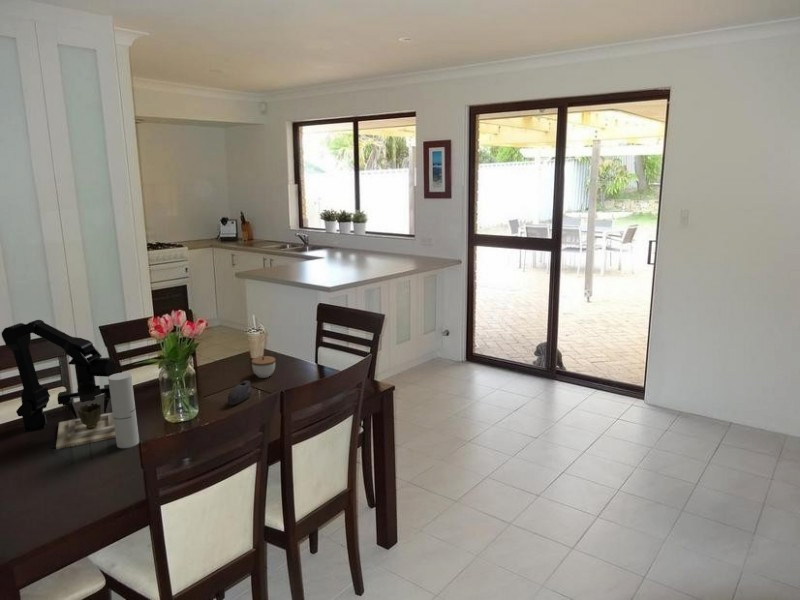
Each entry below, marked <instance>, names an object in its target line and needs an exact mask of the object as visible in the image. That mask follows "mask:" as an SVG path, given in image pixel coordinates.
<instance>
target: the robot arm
mask: <svg viewBox="0 0 800 600" xmlns="http://www.w3.org/2000/svg"><path fill="white" fill-rule="evenodd" d="M31 334H34V335H36V336H38V337H40V338H42V339H44V340H45V341H48V342H50V343H52V344H54V345H55V346H57V347H59V348H61V349H63V351H64V353H65V355H67V356H69V357H70V358H71V360H70V361H68V365H74V370H75V377H76V378H75V379H76V385H77V392H71V390H66V391H59V392H58V394H57V405H62V406H63V407H68V408H69V410H70V411H71V413H72V414H73V416H74V419H78V412H77V410H76V406H75V402H74V399H78V398H79V402H80V403H85V402H89V401H90V402H93V401H95V400H96V397H98V396H101V395H102V394H103V414H107V409H108V403H109V401H110V400H111V396H110V389H109V383H108V384H104V385H103V388H101V385H99V384H98V385H97V384H96V378H95V377H105V378H106V377H107V378H108V377H109V376H111V375H113V374H116V373H115V372H116V364H115V362H114V361H113V360H112V359H111V357H102V354H101V352H99V350H98V349H96V347H95V346H94V345H93V344H94V343H93V342H91V341H90V340H89V339H85V338H82V337H77V336H72V335H69V334H67V333H65V332H63V331H61V330H60V329H57V328H56V327H53V326H51V325H50V324H47V323H45V321H44V320H42V319H36V320H33V321H29V322H28V323H23V322H22V323H21V322H19V323H16V324H14V325H10V326H8V327H7V326H6V327H5V328H4V329H3V330H2V331H1V337H2V340H3V342H4V344H5V346H6V347H7V348H9V349H10V350H11V351H12V353H13V356H14V360H15V363H16V367H17V371H18V374H19V378H20V382H21V384H22V387H23V388H22V392H21V396H20V399H21V405H20V406H18V407H17V409H16V411H15V412H16V414H17V416H18V417H22V422H23V432H24V433H25V432H27V433H28V432H33V431H38V430H43V429H45V427H46V425H47V415H46V412H44V409H46V408H47V406H48V403H49V402H50V398H51V394H50V393H49V389H48V386H43V385H42V384H40V381H39V378H38V376H37V372H36V368H35V364H34V360H33V358H32V353H31V350H30V347H29V346H30V344H31V343H30V342H31V340H32V339H31V338H32V336H31Z"/></svg>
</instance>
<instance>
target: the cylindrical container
mask: <svg viewBox="0 0 800 600" xmlns="http://www.w3.org/2000/svg"><path fill="white" fill-rule="evenodd" d="M132 377H133V376H132V374H131V373H130V372H117V373H114V374H113V375H111V376H109V377H107V379H108V384H109V389H110V396H111V398H110V403H111V404H110V405H111V410H112V412H113V420H114V428H115V435H116V438H115V442H116V447H117V448H119V449H129V448H132V447H135V446H137V445H138V444H139V443H140V436H139V428H138V419H137V410H136V403H135V395H134V394H135V393H134V386H133V378H132ZM112 412H111V413H112Z"/></svg>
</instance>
